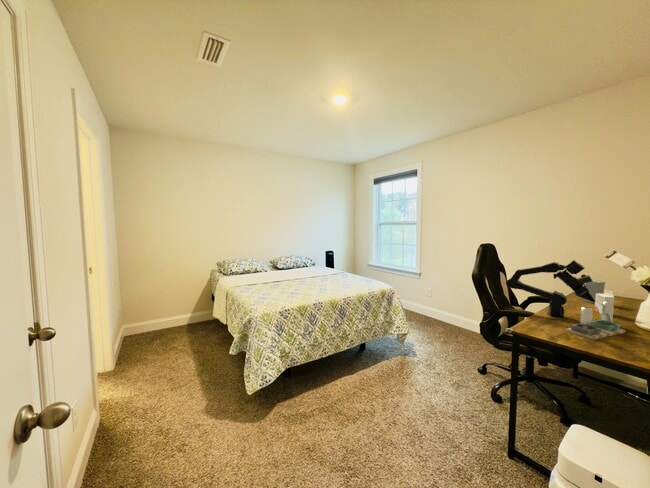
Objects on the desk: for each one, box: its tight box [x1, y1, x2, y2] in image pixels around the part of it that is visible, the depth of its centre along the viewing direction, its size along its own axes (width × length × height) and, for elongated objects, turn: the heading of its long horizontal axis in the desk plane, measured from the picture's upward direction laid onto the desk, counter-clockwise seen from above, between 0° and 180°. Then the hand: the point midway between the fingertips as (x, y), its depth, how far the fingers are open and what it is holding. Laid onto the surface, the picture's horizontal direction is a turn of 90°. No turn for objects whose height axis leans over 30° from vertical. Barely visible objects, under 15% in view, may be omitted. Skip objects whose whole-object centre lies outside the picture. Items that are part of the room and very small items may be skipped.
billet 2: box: [600, 301, 615, 323], centre depth 159 cm, size 4×4×12 cm
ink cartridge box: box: [594, 288, 615, 315], centre depth 177 cm, size 9×5×15 cm, turn 168°
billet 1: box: [579, 306, 594, 330], centre depth 146 cm, size 4×4×12 cm
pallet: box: [564, 318, 626, 341], centre depth 149 cm, size 27×12×4 cm, turn 108°
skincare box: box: [582, 279, 606, 305], centre depth 200 cm, size 8×7×16 cm
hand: (593, 299), depth 163 cm, fingers open, 9 cm apart
